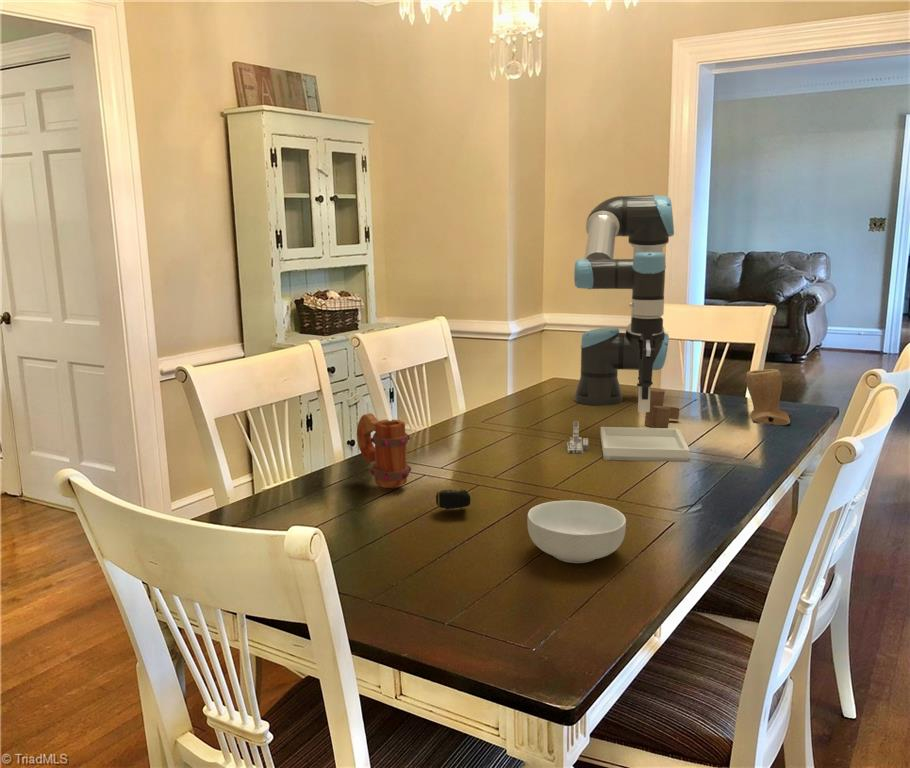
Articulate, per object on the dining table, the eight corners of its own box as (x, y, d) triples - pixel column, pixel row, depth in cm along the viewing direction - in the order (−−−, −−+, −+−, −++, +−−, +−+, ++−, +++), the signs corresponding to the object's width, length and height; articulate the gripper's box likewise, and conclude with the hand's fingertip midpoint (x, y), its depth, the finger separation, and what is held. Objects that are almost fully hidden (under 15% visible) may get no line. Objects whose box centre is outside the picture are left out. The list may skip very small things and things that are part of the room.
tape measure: (471, 510, 153) (470, 491, 153) (436, 512, 152) (435, 493, 153) (470, 506, 159) (469, 488, 160) (436, 508, 159) (435, 489, 159)
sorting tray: (600, 437, 208) (600, 426, 207) (678, 439, 205) (678, 428, 204) (603, 459, 188) (603, 447, 188) (689, 462, 186) (689, 450, 185)
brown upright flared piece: (743, 414, 231) (746, 364, 228) (786, 416, 228) (790, 366, 225) (743, 426, 217) (746, 373, 214) (790, 429, 214) (794, 375, 211)
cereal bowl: (641, 569, 129) (643, 528, 127) (545, 580, 125) (545, 538, 124) (601, 531, 145) (602, 494, 144) (515, 539, 142) (515, 502, 140)
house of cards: (602, 457, 192) (603, 427, 190) (567, 456, 193) (567, 426, 191) (601, 447, 200) (602, 418, 199) (566, 446, 202) (567, 417, 200)
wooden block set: (673, 438, 207) (678, 400, 205) (639, 433, 210) (644, 396, 207) (678, 423, 223) (682, 388, 221) (647, 419, 226) (651, 384, 224)
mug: (419, 484, 172) (418, 418, 169) (392, 494, 166) (390, 425, 163) (375, 471, 182) (373, 408, 179) (348, 479, 176) (345, 414, 173)
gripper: (629, 313, 197) (626, 405, 202) (633, 319, 184) (630, 417, 189) (660, 313, 196) (656, 405, 200) (666, 319, 183) (662, 417, 188)
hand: (643, 411), depth 195 cm, fingers closed
